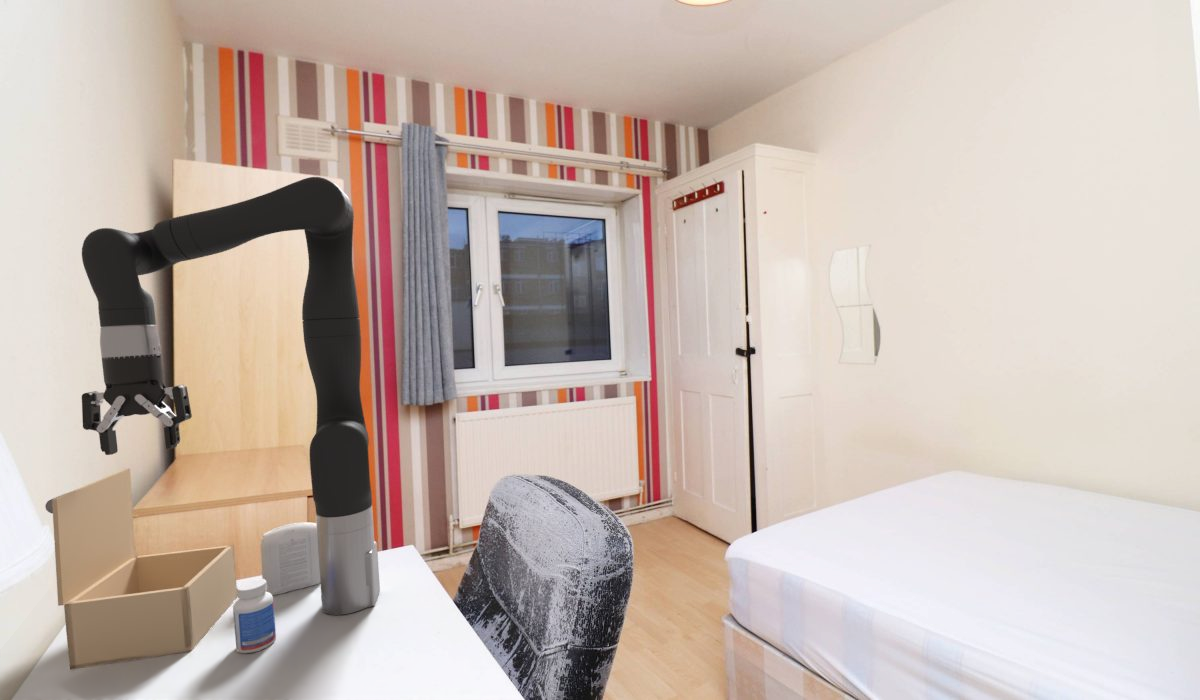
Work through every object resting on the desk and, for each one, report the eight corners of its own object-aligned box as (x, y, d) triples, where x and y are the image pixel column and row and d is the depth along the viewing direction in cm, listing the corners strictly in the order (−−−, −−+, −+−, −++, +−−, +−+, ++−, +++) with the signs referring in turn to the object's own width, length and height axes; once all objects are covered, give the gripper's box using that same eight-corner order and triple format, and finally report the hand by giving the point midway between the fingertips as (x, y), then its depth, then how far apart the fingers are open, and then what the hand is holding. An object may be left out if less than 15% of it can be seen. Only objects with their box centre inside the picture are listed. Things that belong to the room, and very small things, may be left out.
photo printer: (322, 576, 113) (318, 515, 112) (325, 583, 109) (321, 521, 109) (262, 591, 107) (258, 527, 106) (264, 600, 104) (259, 534, 103)
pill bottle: (283, 638, 90) (279, 579, 90) (250, 657, 85) (246, 595, 85) (261, 632, 92) (257, 574, 92) (228, 650, 87) (223, 589, 87)
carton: (237, 597, 105) (233, 544, 105) (191, 651, 88) (186, 588, 87) (138, 610, 101) (134, 556, 101) (69, 669, 84) (63, 604, 83)
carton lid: (130, 468, 100) (89, 471, 99) (56, 499, 82) (5, 502, 81) (134, 556, 101) (94, 559, 100) (63, 605, 83) (12, 610, 82)
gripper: (64, 358, 86) (75, 461, 87) (170, 351, 90) (181, 450, 91) (94, 355, 94) (104, 451, 95) (191, 349, 97) (201, 441, 98)
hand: (142, 450), depth 93 cm, fingers open, 8 cm apart
